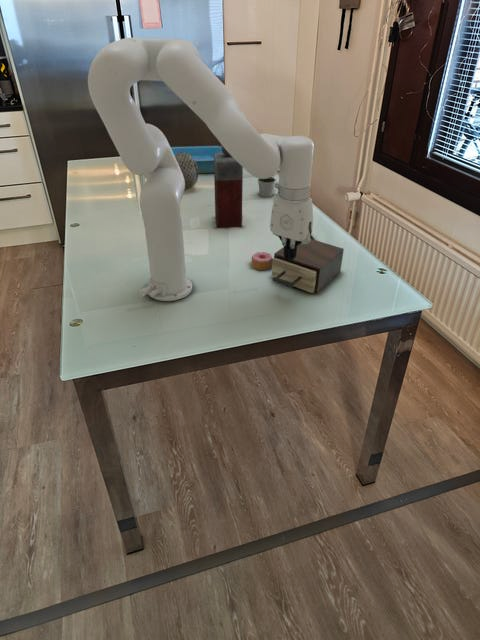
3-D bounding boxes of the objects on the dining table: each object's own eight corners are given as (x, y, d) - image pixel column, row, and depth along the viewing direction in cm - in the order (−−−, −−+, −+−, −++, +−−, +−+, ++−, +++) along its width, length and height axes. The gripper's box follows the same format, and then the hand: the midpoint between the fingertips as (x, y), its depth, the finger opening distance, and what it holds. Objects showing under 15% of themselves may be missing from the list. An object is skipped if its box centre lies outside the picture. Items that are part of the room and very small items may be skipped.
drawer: (302, 302, 123) (304, 282, 119) (260, 286, 129) (261, 267, 126) (334, 273, 136) (337, 254, 132) (295, 260, 142) (296, 241, 138)
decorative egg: (194, 195, 188) (192, 157, 179) (167, 193, 190) (163, 155, 181) (201, 185, 197) (200, 149, 189) (175, 183, 199) (172, 147, 190)
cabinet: (317, 294, 128) (320, 268, 123) (272, 278, 135) (274, 253, 130) (340, 272, 138) (343, 248, 133) (297, 259, 145) (299, 235, 140)
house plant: (291, 199, 185) (295, 157, 175) (260, 204, 181) (261, 161, 171) (276, 187, 196) (278, 147, 186) (246, 191, 192) (247, 151, 182)
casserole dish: (152, 177, 205) (150, 161, 201) (153, 161, 223) (152, 146, 219) (235, 174, 209) (235, 158, 204) (230, 159, 227) (230, 144, 222)
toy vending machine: (238, 214, 172) (239, 135, 156) (242, 227, 163) (243, 145, 147) (214, 215, 172) (212, 136, 155) (216, 227, 163) (215, 145, 146)
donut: (264, 272, 138) (265, 263, 136) (248, 266, 141) (248, 257, 139) (275, 264, 142) (276, 255, 140) (259, 258, 144) (259, 250, 143)
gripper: (259, 189, 113) (258, 256, 123) (314, 203, 106) (307, 273, 116) (276, 181, 118) (273, 246, 128) (329, 193, 111) (321, 261, 121)
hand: (289, 259), depth 122 cm, fingers closed
